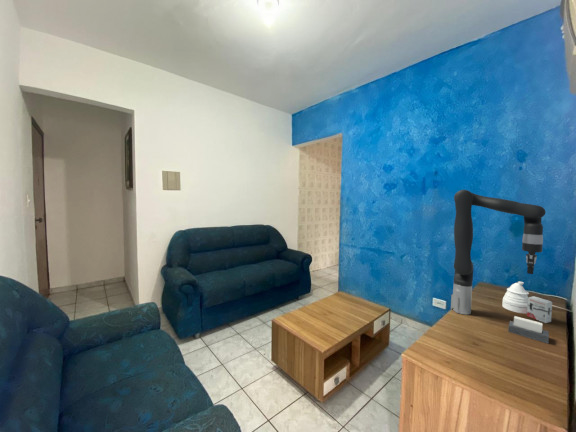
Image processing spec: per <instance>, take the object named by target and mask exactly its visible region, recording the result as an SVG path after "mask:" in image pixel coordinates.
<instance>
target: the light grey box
mask: <svg viewBox="0 0 576 432" xmlns="http://www.w3.org/2000/svg"><path fill="white" fill-rule="evenodd" d="M513 322H514V326H516V327H520V328H525V329H528V330H532V331H534V332H537V333H542V330H543V322H541V321H535V320H532V319H527V318H523V317H520V316H516V315H514V317H513Z"/></svg>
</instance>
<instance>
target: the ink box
mask: <svg viewBox="0 0 576 432" xmlns="http://www.w3.org/2000/svg"><path fill="white" fill-rule="evenodd" d="M552 312H553V302H552V301H551V300H548V299H544V298H542V297H541V298H540V297H538V296H534V295H533V296H528V310H527V314H526V317H528V318H531V319H534V320H537V321H538V322H540V323H544V324H547V323H551V322H552V316H553V315H552Z"/></svg>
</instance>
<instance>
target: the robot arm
mask: <svg viewBox="0 0 576 432" xmlns="http://www.w3.org/2000/svg"><path fill="white" fill-rule="evenodd" d="M453 199H454V205H455V206H454V207H455V219H454V224H453V225H454V226H453V239H454V241H453V242H454V247H455V256H454V261H453V262H454V263H453V269H454V275H453V287H452V288H453V289H452V294H450V296H451V298H450V299H451V300H450V310H452V308H454V309H453V310H452V311H453V312H455V313H457V314H461V315H471V312H472V299H473V297H472V295H473V279H474V263H473V262H472V258H471V257H472V256H471V252H472V251H471V250H472V246H473V242H474V241H473V239H474V224H473V217H472V206H476V207H481V208H484V209H485V208H487V209H489V210H494V211H497V212H501V213H505V214H511V215H512V214H513V215H518V216H521V217H523V224H524V226H523V235H522V242H521V244H522V245H521V249H522V251H523V252H528V253H525V254H526V255H525V258H526V260H525V262H526V266H527V268H526V273H527V274H528V275H533V274H534V269H535V264H536V261H537V254H536V253H542V252H543V245H544V238H543V237H544V235H543V232H544V226H543V224H542V219H543V217H544V216H545V215H546V213H547V212H546V209H545V208H544V207H543V206H541V205H536V204H530V203H525V202H524V203H523V202H522V203H521V202H520V201H516V200H509V199H504V198H497V197H490V196H484V195H480V194H477V193H473V192H471V191H470V190H467V189H461V190H458V191H457V192H455V194H454V196H453Z"/></svg>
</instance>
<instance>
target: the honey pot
mask: <svg viewBox="0 0 576 432" xmlns="http://www.w3.org/2000/svg"><path fill="white" fill-rule="evenodd" d="M524 283H525V282H523V281H517V282H515V283H512V284H511V285H510V286H509V287H507V288H506V292H505V293H504V296H503V297H502V305H501V306H502V308H503V309H505V310H508V311H509V312H510V311H511V312H514V313H518V314H526V315H527V310H528V297H529V296H528V295H529V294H530V292H529V291H527V290H525V288H524V286H523V285H524Z"/></svg>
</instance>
